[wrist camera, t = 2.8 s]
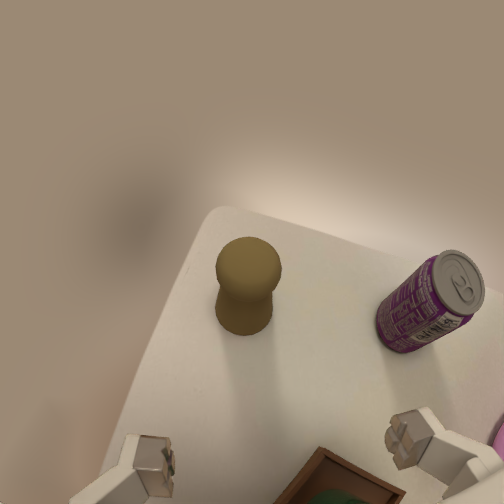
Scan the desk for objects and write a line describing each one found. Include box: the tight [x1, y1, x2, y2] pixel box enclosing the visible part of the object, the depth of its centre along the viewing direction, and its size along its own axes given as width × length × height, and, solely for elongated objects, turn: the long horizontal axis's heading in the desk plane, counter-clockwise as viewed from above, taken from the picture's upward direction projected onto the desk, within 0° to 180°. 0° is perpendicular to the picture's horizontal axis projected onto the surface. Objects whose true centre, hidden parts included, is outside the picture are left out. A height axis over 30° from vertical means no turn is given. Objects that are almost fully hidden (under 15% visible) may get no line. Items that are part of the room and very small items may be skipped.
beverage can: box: [377, 250, 485, 353], centre depth 28 cm, size 7×7×12 cm
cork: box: [215, 237, 282, 336], centre depth 29 cm, size 6×6×11 cm
